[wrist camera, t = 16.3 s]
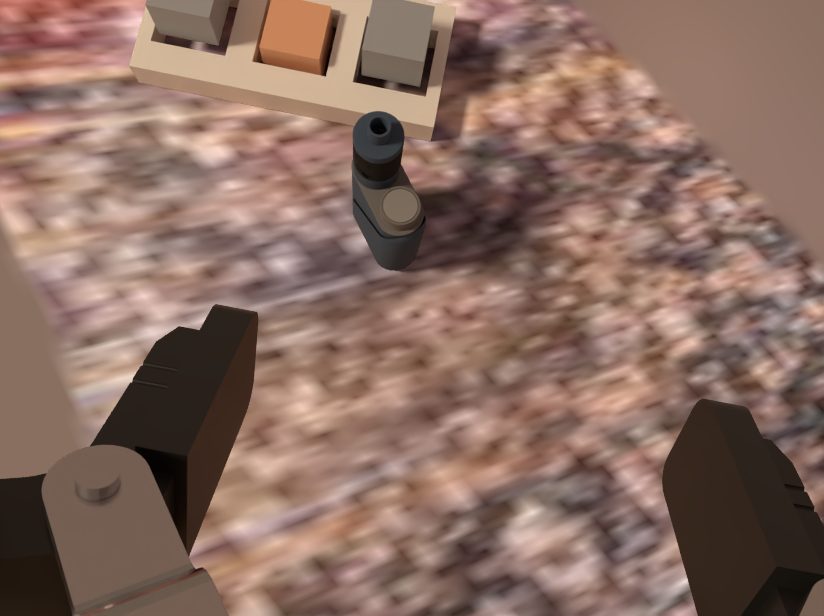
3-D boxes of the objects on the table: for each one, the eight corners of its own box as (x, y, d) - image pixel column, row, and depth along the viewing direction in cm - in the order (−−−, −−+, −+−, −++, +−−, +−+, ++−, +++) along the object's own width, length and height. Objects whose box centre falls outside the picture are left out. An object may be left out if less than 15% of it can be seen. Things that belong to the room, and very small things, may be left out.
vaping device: (384, 186, 44) (393, 90, 32) (422, 262, 43) (446, 192, 31) (345, 203, 44) (340, 112, 32) (383, 280, 43) (393, 216, 31)
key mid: (332, 33, 45) (331, 6, 43) (321, 83, 45) (319, 59, 42) (277, 21, 45) (272, -6, 43) (265, 72, 45) (259, 47, 42)
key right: (430, 34, 44) (435, 6, 41) (419, 86, 43) (424, 62, 40) (372, 22, 43) (373, -7, 41) (361, 75, 43) (361, 49, 40)
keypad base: (452, 26, 46) (456, 7, 44) (430, 141, 45) (433, 127, 43) (171, -33, 46) (163, -54, 44) (139, 82, 44) (129, 65, 42)
